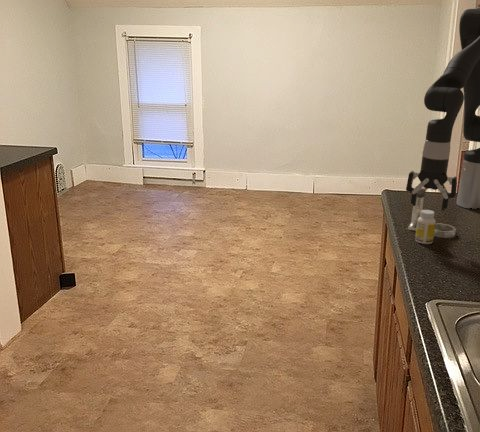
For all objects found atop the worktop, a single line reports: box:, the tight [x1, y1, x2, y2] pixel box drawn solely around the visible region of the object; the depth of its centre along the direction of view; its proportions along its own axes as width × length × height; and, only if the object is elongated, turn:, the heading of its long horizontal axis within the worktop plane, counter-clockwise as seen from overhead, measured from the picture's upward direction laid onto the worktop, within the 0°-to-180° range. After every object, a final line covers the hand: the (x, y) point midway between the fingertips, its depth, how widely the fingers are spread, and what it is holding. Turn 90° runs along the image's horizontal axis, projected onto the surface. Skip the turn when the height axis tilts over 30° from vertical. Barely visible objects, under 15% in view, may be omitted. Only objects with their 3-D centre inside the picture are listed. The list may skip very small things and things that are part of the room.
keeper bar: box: [417, 187, 428, 198], centre depth 188 cm, size 16×3×2 cm, turn 153°
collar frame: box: [407, 196, 457, 239], centre depth 182 cm, size 8×14×11 cm, turn 63°
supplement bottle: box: [414, 209, 437, 245], centre depth 175 cm, size 5×5×10 cm
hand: (428, 207), depth 172 cm, fingers open, 8 cm apart
